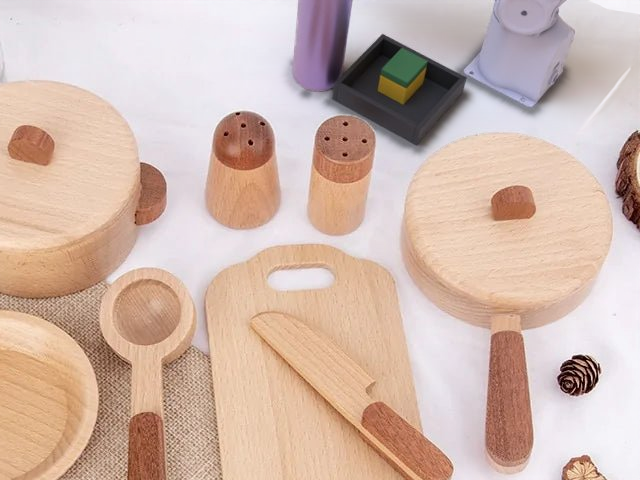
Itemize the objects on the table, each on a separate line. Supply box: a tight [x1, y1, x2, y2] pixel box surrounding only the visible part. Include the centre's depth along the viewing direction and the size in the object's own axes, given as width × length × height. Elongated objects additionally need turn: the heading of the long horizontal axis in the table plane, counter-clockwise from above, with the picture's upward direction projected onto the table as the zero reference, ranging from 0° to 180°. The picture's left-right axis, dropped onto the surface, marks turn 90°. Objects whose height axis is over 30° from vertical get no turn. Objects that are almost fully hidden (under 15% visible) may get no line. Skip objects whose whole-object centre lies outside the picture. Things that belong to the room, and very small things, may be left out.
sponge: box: [378, 48, 428, 104], centre depth 126 cm, size 4×4×4 cm
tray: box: [331, 33, 468, 146], centre depth 126 cm, size 12×10×3 cm
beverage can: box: [291, 0, 354, 92], centre depth 122 cm, size 6×6×15 cm
